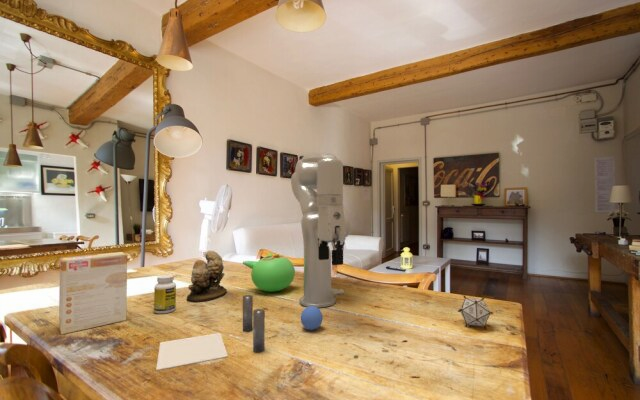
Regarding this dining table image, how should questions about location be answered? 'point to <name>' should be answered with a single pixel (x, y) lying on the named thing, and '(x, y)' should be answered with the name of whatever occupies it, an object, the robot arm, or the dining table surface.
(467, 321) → the game die
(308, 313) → the ball
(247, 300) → the post
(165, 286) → the pill bottle
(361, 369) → the dining table surface
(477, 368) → the dining table surface
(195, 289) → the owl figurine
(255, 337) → the post
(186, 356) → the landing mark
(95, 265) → the coffeecake box
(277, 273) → the green teapot
